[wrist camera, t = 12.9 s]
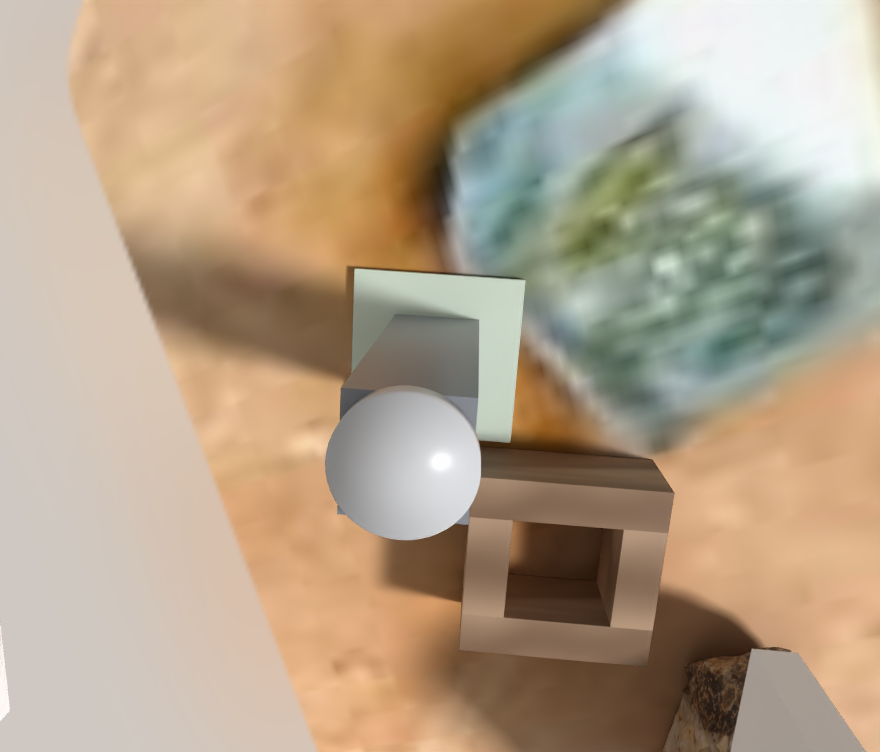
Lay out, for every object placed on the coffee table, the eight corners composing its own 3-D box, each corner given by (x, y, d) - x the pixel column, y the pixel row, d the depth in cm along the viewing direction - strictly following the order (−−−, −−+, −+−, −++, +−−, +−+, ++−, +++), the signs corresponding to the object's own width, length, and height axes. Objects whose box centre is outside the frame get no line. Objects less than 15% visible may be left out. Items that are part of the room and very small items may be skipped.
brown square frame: (473, 446, 39) (472, 476, 35) (652, 459, 39) (674, 492, 35) (461, 603, 42) (459, 650, 37) (629, 617, 41) (647, 667, 37)
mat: (356, 268, 37) (354, 268, 37) (524, 279, 37) (525, 280, 36) (350, 427, 39) (349, 430, 39) (509, 440, 39) (510, 442, 39)
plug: (390, 309, 37) (327, 387, 22) (484, 315, 37) (486, 399, 22) (386, 398, 38) (323, 533, 23) (477, 405, 38) (475, 546, 23)
